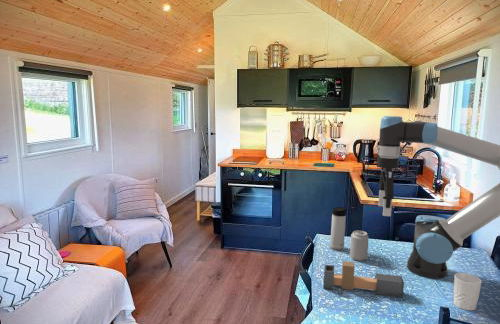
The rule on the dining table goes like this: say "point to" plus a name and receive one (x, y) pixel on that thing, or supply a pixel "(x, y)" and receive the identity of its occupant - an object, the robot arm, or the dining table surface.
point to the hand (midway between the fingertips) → (384, 210)
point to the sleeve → (389, 285)
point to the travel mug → (338, 228)
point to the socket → (328, 277)
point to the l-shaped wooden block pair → (353, 279)
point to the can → (359, 245)
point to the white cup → (466, 291)
